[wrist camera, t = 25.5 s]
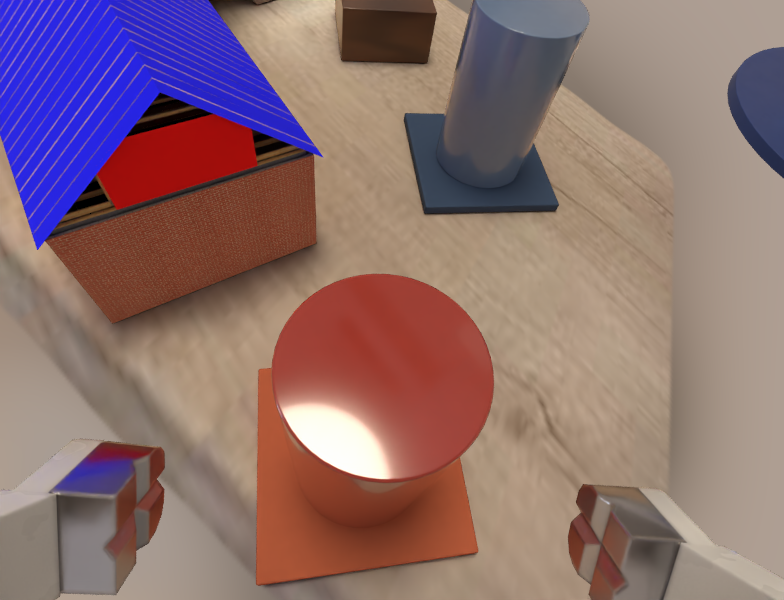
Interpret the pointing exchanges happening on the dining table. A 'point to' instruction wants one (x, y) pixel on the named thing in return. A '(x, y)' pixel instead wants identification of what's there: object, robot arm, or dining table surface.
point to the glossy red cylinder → (378, 394)
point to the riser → (385, 30)
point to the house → (149, 147)
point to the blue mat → (461, 198)
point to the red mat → (336, 542)
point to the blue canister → (506, 85)
